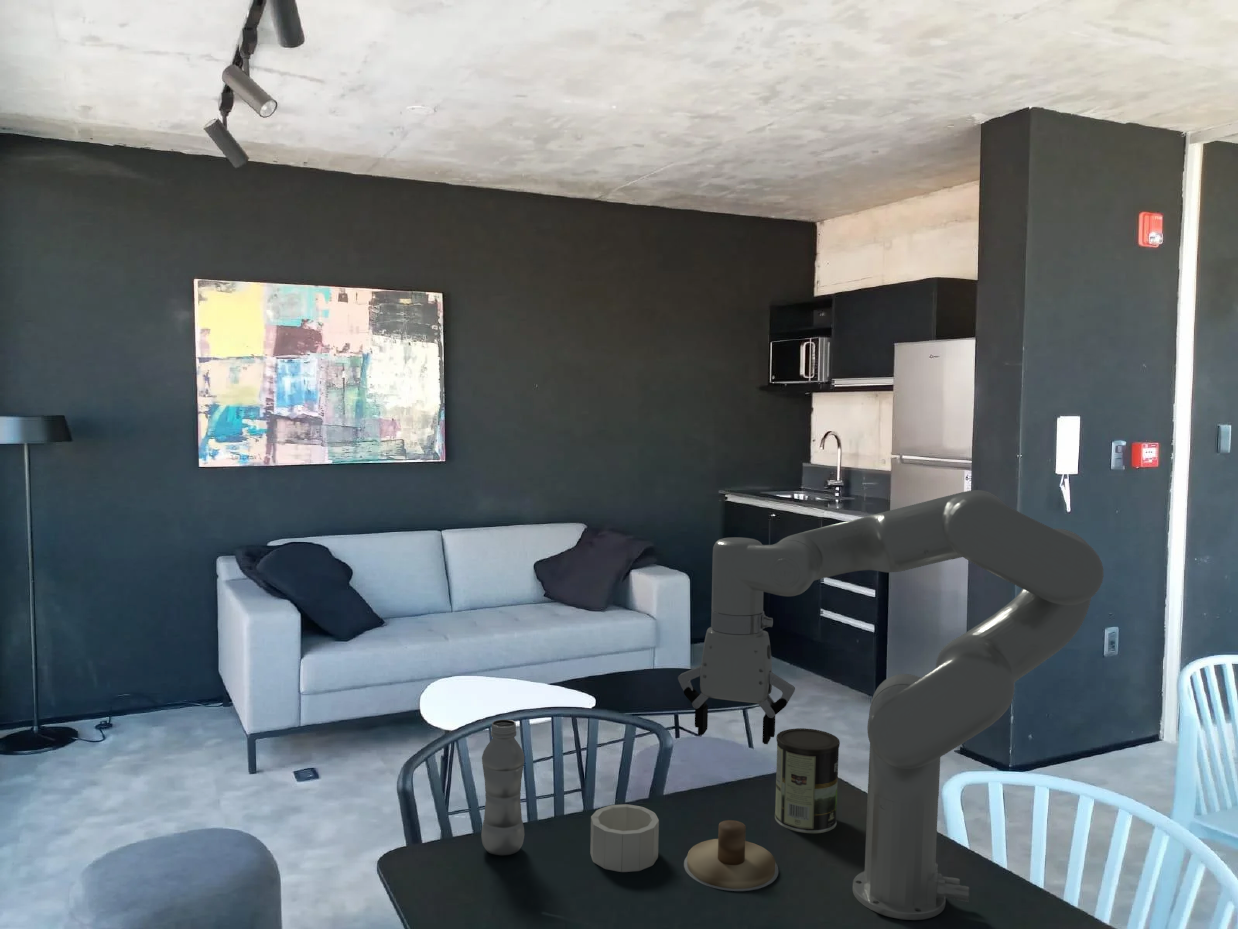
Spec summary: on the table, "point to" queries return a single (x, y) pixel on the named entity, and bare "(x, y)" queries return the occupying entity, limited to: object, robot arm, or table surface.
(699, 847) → the lid
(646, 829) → the bowl
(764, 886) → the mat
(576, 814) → the table surface
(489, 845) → the plastic bottle
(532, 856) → the table surface
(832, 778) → the coffee can
